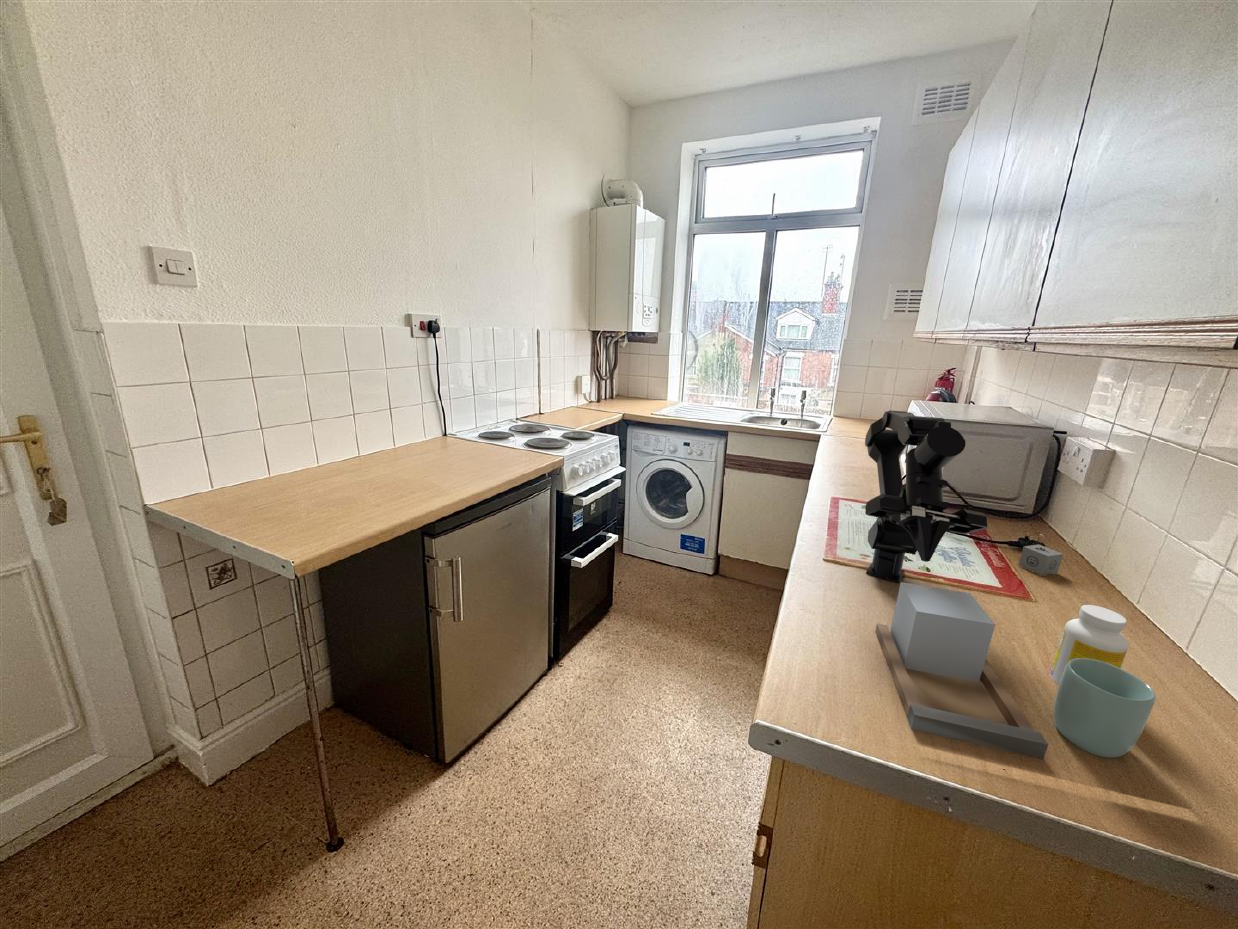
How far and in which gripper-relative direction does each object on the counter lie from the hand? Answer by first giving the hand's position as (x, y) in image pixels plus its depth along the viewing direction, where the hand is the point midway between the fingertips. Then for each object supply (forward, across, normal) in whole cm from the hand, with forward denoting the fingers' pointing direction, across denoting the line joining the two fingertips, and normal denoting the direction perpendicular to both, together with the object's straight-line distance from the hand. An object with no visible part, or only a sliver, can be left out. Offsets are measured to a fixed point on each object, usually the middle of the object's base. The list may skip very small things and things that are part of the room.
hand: (925, 561), depth 82 cm
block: (+16, 0, +1) cm, 16 cm away
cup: (+24, -12, +13) cm, 29 cm away
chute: (+20, +2, +6) cm, 21 cm away
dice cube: (-10, -42, -26) cm, 50 cm away
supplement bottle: (+16, -19, +5) cm, 26 cm away
